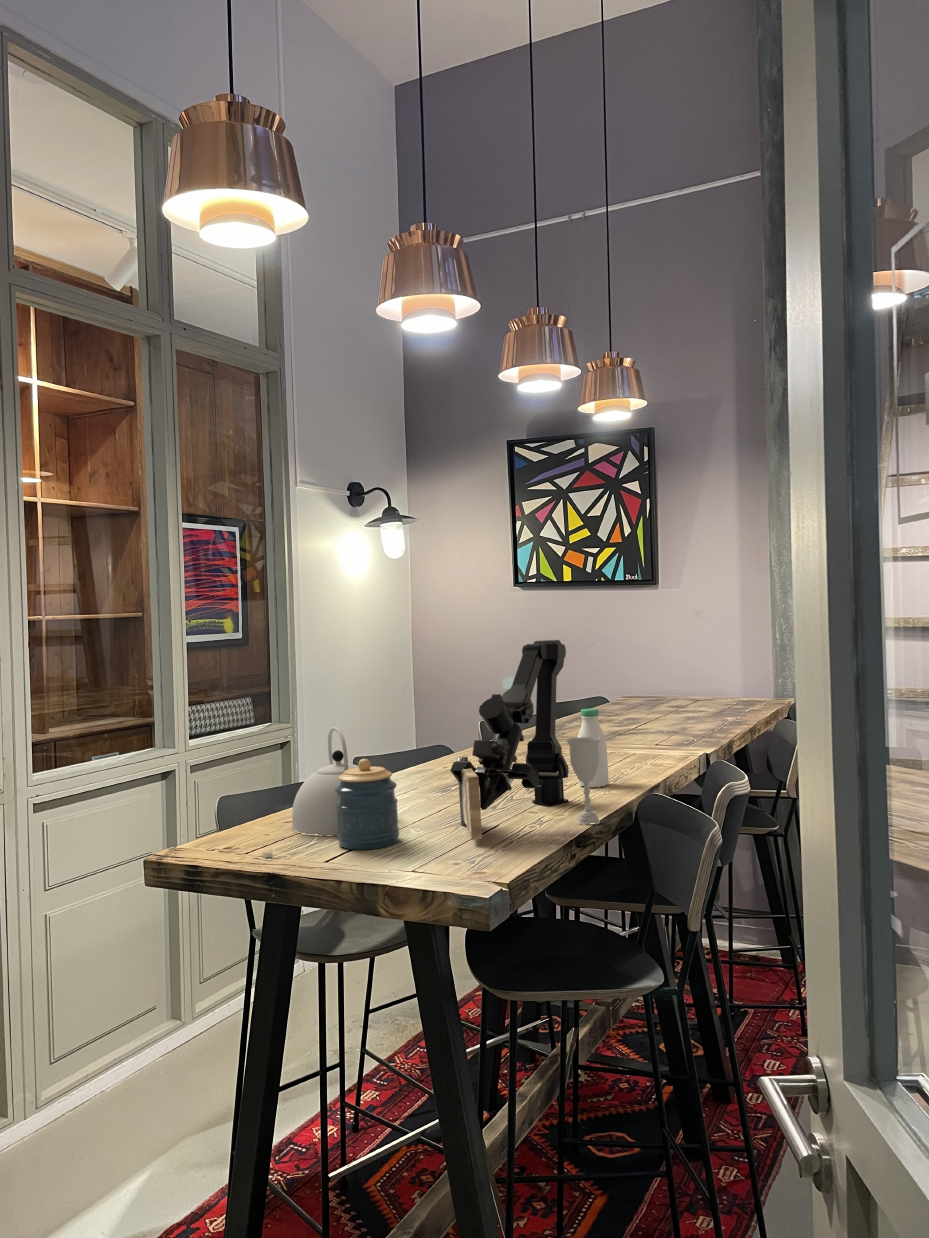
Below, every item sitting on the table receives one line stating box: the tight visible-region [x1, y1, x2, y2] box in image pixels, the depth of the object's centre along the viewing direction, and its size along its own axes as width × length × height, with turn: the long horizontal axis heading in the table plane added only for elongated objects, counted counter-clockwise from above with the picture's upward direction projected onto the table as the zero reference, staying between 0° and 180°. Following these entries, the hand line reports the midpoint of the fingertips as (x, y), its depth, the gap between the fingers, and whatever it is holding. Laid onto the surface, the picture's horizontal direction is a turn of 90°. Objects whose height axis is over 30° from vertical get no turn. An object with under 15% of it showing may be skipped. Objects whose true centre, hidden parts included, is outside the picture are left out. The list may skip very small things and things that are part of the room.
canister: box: [335, 758, 400, 851], centre depth 192 cm, size 13×13×18 cm
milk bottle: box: [577, 708, 610, 788], centre depth 238 cm, size 8×8×20 cm
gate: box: [461, 767, 483, 840], centre depth 192 cm, size 17×2×12 cm, turn 7°
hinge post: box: [456, 756, 469, 827], centre depth 202 cm, size 2×2×15 cm
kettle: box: [291, 726, 358, 835], centre depth 212 cm, size 25×23×22 cm
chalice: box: [566, 737, 601, 825], centre depth 198 cm, size 7×7×18 cm
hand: (482, 808), depth 189 cm, fingers closed
